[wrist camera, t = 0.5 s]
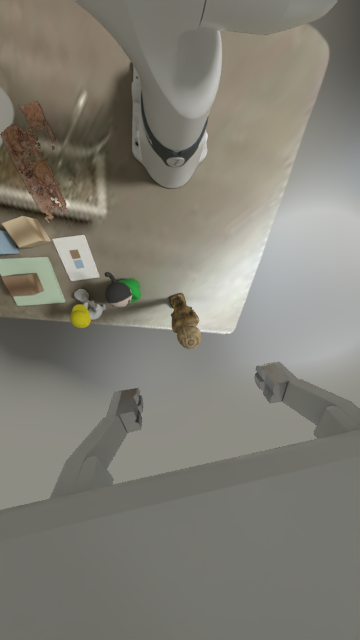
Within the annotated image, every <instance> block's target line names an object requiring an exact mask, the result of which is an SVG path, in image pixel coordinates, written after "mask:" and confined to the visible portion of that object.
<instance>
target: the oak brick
mask: <svg viewBox="0 0 360 640" xmlns="http://www.w3.org/2000/svg"><path fill="white" fill-rule="evenodd" d="M2 225H3V226H4V227H5V229H6V230H7V231H8V233H9V234H10V236H11V237H12V238H13V240H14V241H15V242H16V244H17V245H18V247H30V248H33V247H36V246H39V245H42V244H45V243H48V242H51V240H50V239H49V237H48V236H47V234H46V232H45V231H44V229H43V228H42V226H41V224H40V223H39V221H38V220H37V219H33V218H29V217H25V216H21V217H19V218H16V219H13V220H10V221H7V222H4V223H2Z"/></svg>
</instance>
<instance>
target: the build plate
mask: <svg viewBox="0 0 360 640" xmlns="http://www.w3.org/2000/svg"><path fill="white" fill-rule="evenodd" d="M26 273H37V275H38V277H39V279H40V282H41V284H42V286H43V288H44V291H43V292H40V293H38V294H35V295H30V296H15V297H13V298H14V300H15V302H16V303H17V305H18V306H22V305H36V304H50V303H64V302H65V299H64V296H63V294H62V291H61V289H60V286H59V284H58V281H57V279H56V276H55V273H54V271H53V268H52V266H51V263H50V261H49V258H48V257H34V258H10V259H0V274H1V276H2V277H3V276H9V275H14V274H26Z"/></svg>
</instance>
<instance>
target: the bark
mask: <svg viewBox="0 0 360 640" xmlns="http://www.w3.org/2000/svg"><path fill="white" fill-rule="evenodd" d="M19 106H20V105H19ZM20 109H21V111H22V112H23V113H24V114H25V116H26V119H27V121H28V124H29V126H30V128H29V129H28V131H29V132H28V133H27V132H25V131H24V130H23V129H22V128H21V127H19V126H18V125H15V126H14V125H12V124H11V126H9V127H7V129H5V130H4V132H2V133H1V134H0V135H1V137H2V139H3V142H4V144H5V146H6V148H7V150H8V152H9V153H10V155H11V157H12V160H13V162H14V164H15V166H16V168H17V170H18V172H19V173H20V175H21V176H22V179H23V181H24V183H25V185H26V186H27V189H28V190H29V193H30V194H32V195H33V199H34V200H35V201H36V202H37V204H38V206H39V209H40V210H41V211H42V212H43V213H46V215H49V216H46V218H45V219H46V220H47V218H49V219H52V218H54V217H53V216H52V214H51V213H53V212H54V210H52V206H54V208H55V207H57V208H58V209H60V210H61V212H62V209H61V207H59V203H58V204H56V203H55V200H54V201H52V200H51V197H53V198H54V199H55V197H58V200H57V201H59V202H60V203H61V205H62V208H63V209H64V210H65V209H67V208H66V202H65V200H64V198H63V197H62V194H61V191H60V189H59V186H58V185H59V184H58V183H57V181H56V179H55V177H54V175H53V174H52V171H53V169H50V167H49V165H48V163H47V161H46V159H45V160H43V161H40V158H39V155H38V153H39V154H41V153H40V152H39V151H37V150H36V148H35V145H36V144H37V143H36V141H37V140H38V137H37V135H36V134H33V135H31V131H36V127H37V126H36V125H39V127H40V129H39V130H40V131H43V130H42V129H45V123H46V126H47V127H48V128H47V130H48V131H46V132H48V133H49V135H50V138H51V141H52V143H53V142H54V141H55V137H54V135H53V133H52V131H51V129H50V127H49V126H48V124H47V122H46V120H45V118H44V115H43V112H42V109H41V107H40V105H39V103H38V101H36V102H33V103H30V105H29V104H26V105H24V106H23V105H21V106H20ZM35 117H37V119H38V120H42V121H38V120H37V121H36V120H35ZM34 122H35V123H34ZM44 122H45V123H44ZM31 127H32V128H33V130H32V129H31ZM29 133H30V134H29ZM21 134H22V136H23V137H22V136H21ZM35 136H36V137H35ZM32 138H34V139H35V140H33V139H32ZM44 141H45V140H44ZM28 146H31V147H33V148H32V151H33V152H34V153H33V152H32V151H31V150H30V149H27V147H28ZM38 146H40V143H39V142H38ZM38 148H39V149H40V148H41V147H38ZM52 149H53V150H54V149H55V148H54V146H52ZM29 150H30V151H31V153H33V154H34V155H36V157H34V158H36V161H35V162H37V163H35V162H25V161H24V157H25V158H27V157H29V158H31V155H30V152H29ZM37 152H38V153H37ZM27 153H28V154H27ZM23 155H24V156H23ZM41 155H42V154H41ZM42 156H43V155H42ZM38 161H40V162H38ZM71 178H72V180H73V177H71ZM69 180H70V179H69ZM73 182H74V180H73ZM42 183H43V184H42ZM44 184H45V185H44ZM74 184H75V185H76V183H75V182H74ZM43 186H45V188H44V187H43ZM76 187H77V186H76ZM47 207H49V208H50V207H51V208H50V209H48V208H47ZM49 211H51V212H49ZM65 211H66V210H65ZM64 215H65V214H64ZM47 221H48V220H47ZM48 222H49V221H48Z"/></svg>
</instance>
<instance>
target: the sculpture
mask: <svg viewBox="0 0 360 640" xmlns="http://www.w3.org/2000/svg"><path fill="white" fill-rule="evenodd" d="M169 301H170V304H171V306H172V308H173V309H174V312H173V313H172V314H171V316H172V329H173V331H174V332H176V333H178V334H177V338H178V341H179V343H180V344H181V345H182V346H183V347H185V348H187V349H194V348H196V347H197V346H198V345H199V344H200V341H201V333H200V330H199V329H198V328H197V327H195V326H196V325H197V324H198V323H199V318H198V316H197V315H196V313H195V312H194V311H193V310H192V307H189V306H187V305H186V301H185V298H184V295H183V293H180V294H176V295H174V296H171V297H170V298H169Z"/></svg>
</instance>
